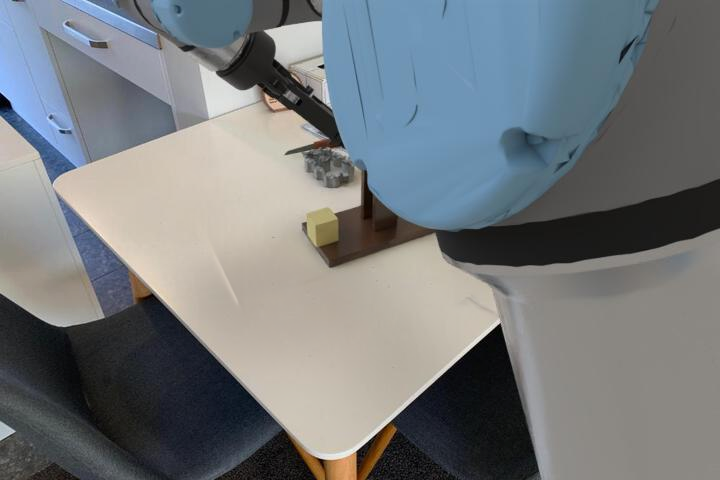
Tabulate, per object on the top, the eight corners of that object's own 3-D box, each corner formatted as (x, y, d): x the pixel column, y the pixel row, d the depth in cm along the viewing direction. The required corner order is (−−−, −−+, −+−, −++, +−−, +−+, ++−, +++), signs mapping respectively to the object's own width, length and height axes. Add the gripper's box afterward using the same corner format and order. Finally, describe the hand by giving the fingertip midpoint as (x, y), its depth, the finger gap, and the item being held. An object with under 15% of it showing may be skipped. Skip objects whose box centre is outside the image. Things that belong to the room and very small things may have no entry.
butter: (316, 247, 84) (315, 225, 81) (307, 235, 86) (305, 213, 83) (338, 240, 85) (338, 218, 82) (329, 228, 88) (328, 206, 85)
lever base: (329, 267, 82) (326, 176, 72) (302, 229, 90) (295, 142, 79) (453, 226, 91) (467, 139, 81) (419, 194, 99) (427, 111, 88)
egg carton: (359, 180, 103) (360, 162, 100) (326, 191, 99) (326, 173, 97) (331, 157, 109) (331, 139, 107) (299, 166, 106) (298, 149, 104)
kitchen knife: (349, 140, 115) (349, 132, 114) (352, 143, 114) (352, 134, 113) (283, 157, 109) (282, 148, 108) (285, 160, 108) (285, 151, 107)
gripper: (285, 48, 53) (407, 151, 69) (223, -4, 68) (335, 91, 84) (241, 107, 54) (371, 195, 70) (190, 43, 69) (307, 128, 85)
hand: (351, 138), depth 77 cm, fingers open, 9 cm apart
